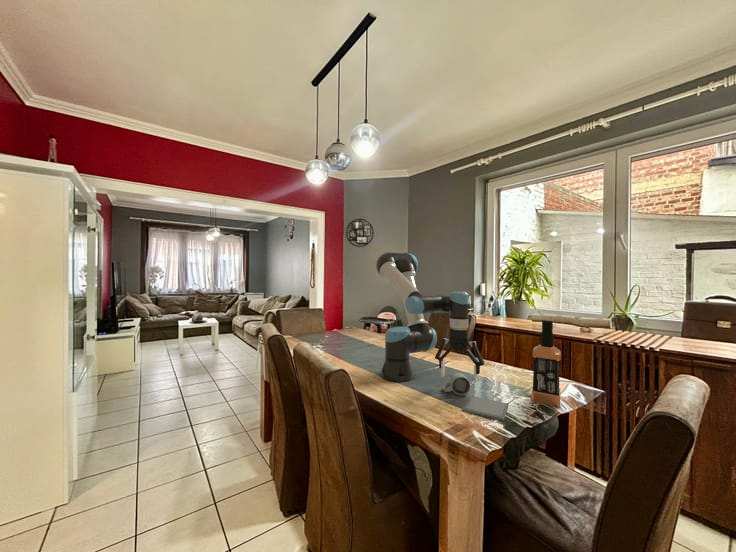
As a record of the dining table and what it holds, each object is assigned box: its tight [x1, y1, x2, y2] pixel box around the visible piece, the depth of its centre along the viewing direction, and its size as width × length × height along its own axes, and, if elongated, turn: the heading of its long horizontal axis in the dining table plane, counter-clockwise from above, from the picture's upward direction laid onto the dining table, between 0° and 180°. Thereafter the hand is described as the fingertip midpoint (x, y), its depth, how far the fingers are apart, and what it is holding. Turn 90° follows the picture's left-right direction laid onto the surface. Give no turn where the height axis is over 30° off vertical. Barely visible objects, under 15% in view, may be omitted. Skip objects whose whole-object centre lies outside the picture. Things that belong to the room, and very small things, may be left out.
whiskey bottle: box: [530, 319, 562, 408], centre depth 122 cm, size 10×10×32 cm
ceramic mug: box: [442, 372, 471, 396], centre depth 129 cm, size 11×8×8 cm
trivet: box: [461, 395, 510, 422], centre depth 114 cm, size 14×14×1 cm
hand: (458, 378), depth 128 cm, fingers open, 13 cm apart
